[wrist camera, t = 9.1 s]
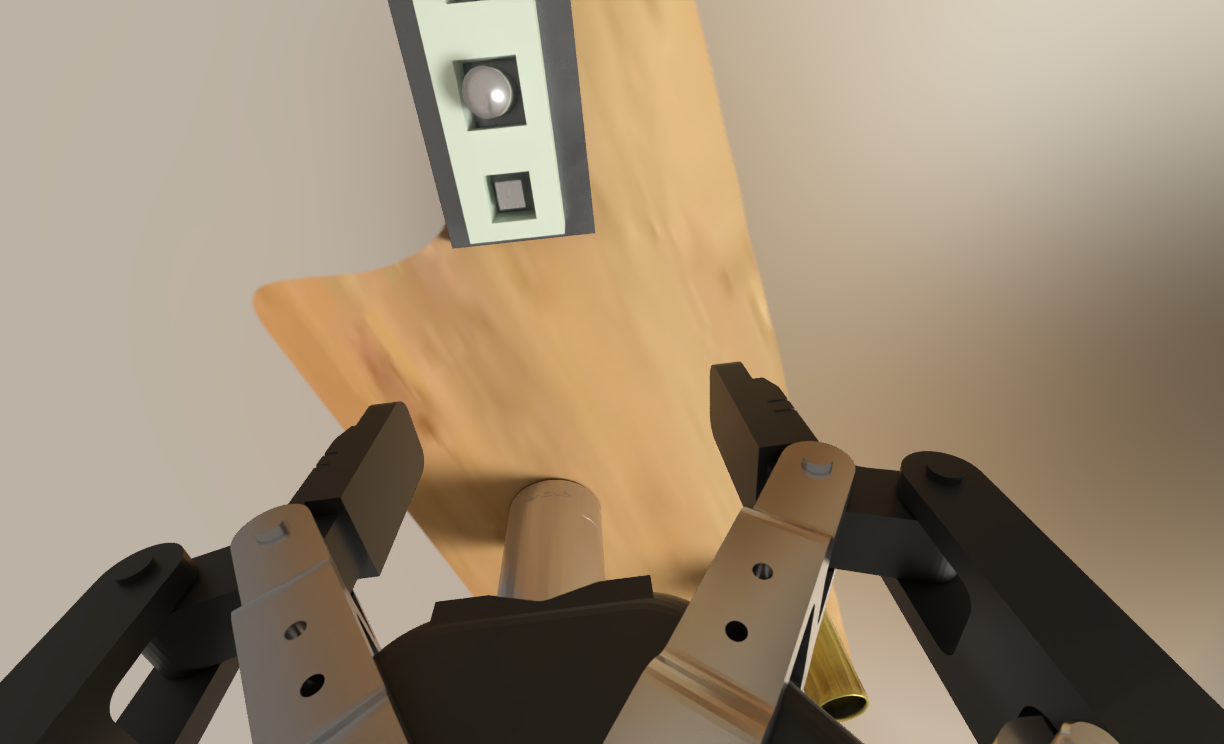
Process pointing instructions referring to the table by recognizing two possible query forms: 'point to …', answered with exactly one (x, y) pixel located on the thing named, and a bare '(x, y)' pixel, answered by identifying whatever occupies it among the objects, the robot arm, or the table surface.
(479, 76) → the base
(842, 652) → the vase
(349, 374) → the table surface
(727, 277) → the table surface
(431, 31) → the flange bar
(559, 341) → the table surface
